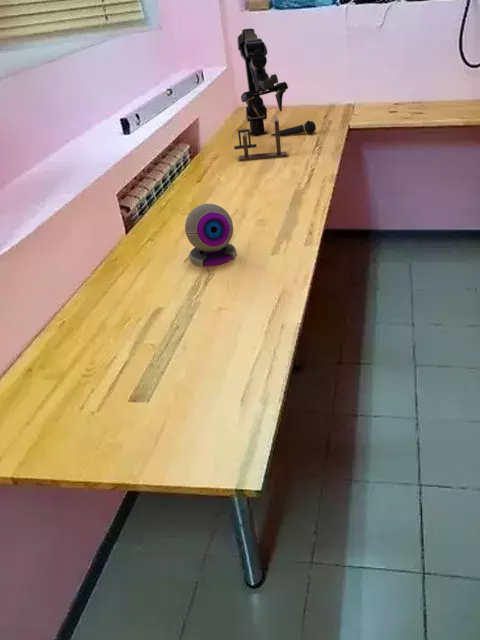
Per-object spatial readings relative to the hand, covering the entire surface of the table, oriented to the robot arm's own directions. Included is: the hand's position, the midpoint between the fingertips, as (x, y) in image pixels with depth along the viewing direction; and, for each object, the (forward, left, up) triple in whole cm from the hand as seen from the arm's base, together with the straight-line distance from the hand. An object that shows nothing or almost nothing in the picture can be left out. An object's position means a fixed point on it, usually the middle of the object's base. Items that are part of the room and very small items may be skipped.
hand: (270, 113), depth 250 cm
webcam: (+68, -78, -14) cm, 104 cm away
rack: (+4, -9, -14) cm, 17 cm away
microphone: (-10, +20, -14) cm, 26 cm away
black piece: (-1, -13, -11) cm, 17 cm away
